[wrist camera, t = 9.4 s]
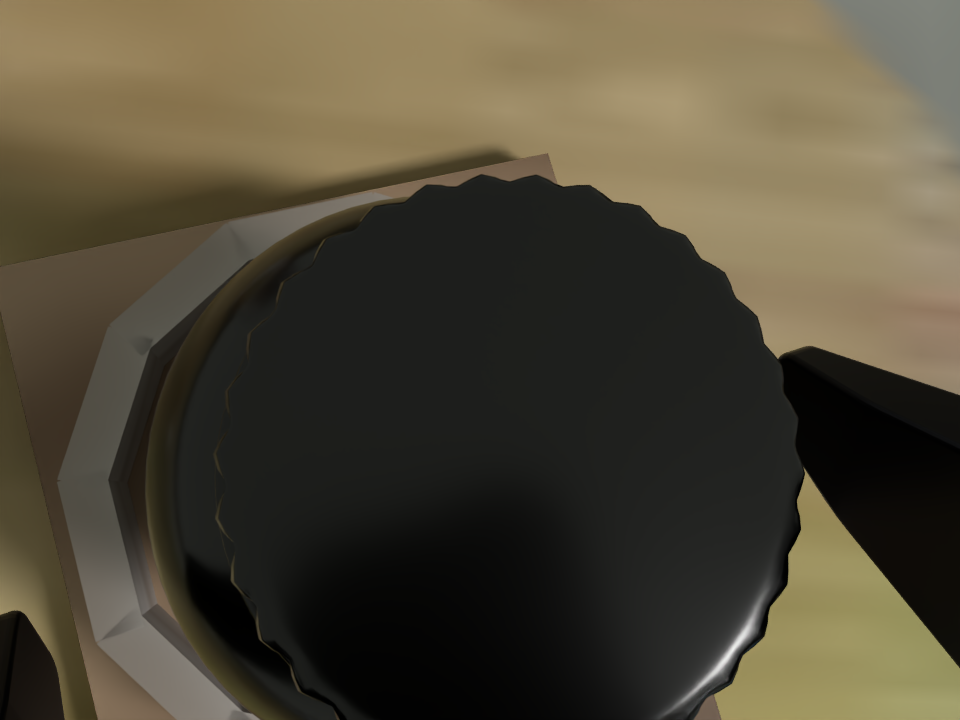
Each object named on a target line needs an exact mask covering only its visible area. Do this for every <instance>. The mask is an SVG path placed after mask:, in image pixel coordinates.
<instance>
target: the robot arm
mask: <svg viewBox="0 0 960 720" xmlns="http://www.w3.org/2000/svg"><path fill="white" fill-rule="evenodd" d="M778 360H779V362H780V363H781V364H782V368H783V376H784V383H783V386H784V393H785V395H786V397H787V398H788V400H789V401H790V403H791V405H792V406H793V408H794V410H795V412H796V414H797V416H798V418H799V420H798V433H797V437H796V449H797V452H798V455H799V457H800V459H801V461H802V465H803V467H804V468H805V470H806V472H807V473H808V475H809V476H810V478H811V479H812V481H813V482H814V484H815V485H816V487H817V488H818V490H819V491H820V493H821V494H822V496H823V497H824V499H825V501H826V502H827V503H828V505H829V506H830V508H831V509H832V510H833V512H834V513H835V515H836V516H837V517H838V519H839V520H840V521H841V523H842V524H843V525H844V526H845V528H846V529H847V530H848V532H849V533H850V534H851V535H852V537H853V538H854V539H855V540H856V541H857V543H858V544H859V545H860V546H861V548H862V549H863V550H864V551H865V552H866V554H867V555H868V556H869V557H870V559H871V560H872V561H873V562H874V563H875V565H876V566H877V567H878V568H879V570H880V571H881V572H882V573H883V575H884V576H885V577H886V578H887V579H888V581H889V582H890V583H891V584H892V586H893V587H894V588H895V589H896V590H897V592H898V593H899V594H900V595H901V597H902V598H903V599H904V600H905V602H906V603H907V604H908V605H909V606H910V608H911V609H912V610H913V611H914V613H915V614H916V615H917V616H918V617H919V619H920V620H921V621H922V622H923V624H924V625H925V626H926V627H927V628H928V630H929V631H930V632H931V633H932V635H933V636H934V637H935V638H936V640H937V641H938V642H939V643H940V644H941V646H942V647H943V648H944V649H945V651H946V652H947V653H948V654H949V655H950V657H951V658H952V659H953V660H954V662H955V663H956V664H957V665H958V666H959V668H960V395H958V394H955V393H952V392H949V391H946V390H943V389H940V388H937V387H934V386H931V385H928V384H925V383H922V382H919V381H916V380H913V379H910V378H907V377H904V376H901V375H898V374H895V373H892V372H889V371H886V370H883V369H880V368H877V367H874V366H871V365H868V364H865V363H862V362H859V361H856V360H853V359H850V358H847V357H844V356H841V355H838V354H835V353H832V352H829V351H826V350H823V349H820V348H816V347H813V346H806V347H802V348H799V349H796V350H793V351H790V352H787V353H784V354H782V355H781V356H780V357H779V359H778ZM0 720H65V719H64V712H63V705H62V698H61V691H60V684H59V677H58V672H57V668H56V665H55V662H54V660H53V657H52V655H51V654H50V652H49V650H48V649H47V647H46V646H45V644H44V643H43V641H42V639H41V638H40V636H39V635H38V633H37V632H36V630H35V628H34V627H33V625H32V624H31V622H30V621H29V619H28V618H27V616H26V615H25V614H24V613H22V612H21V611H11V612H8V613H5V614H2V615H0Z"/></svg>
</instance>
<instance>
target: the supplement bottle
mask: <svg viewBox="0 0 960 720" xmlns="http://www.w3.org/2000/svg"><path fill="white" fill-rule="evenodd" d="M783 383H784V376H783V368H782V364H781V363H780V362H779V360H778V359H777V358H776V356H775V355H774V354H773V353H772V352H771V351H770V349H769V348H768V347H767V346H766V345H765V344H764V340H763V335H762V330H761V327H760V323H759V320H758V317H757V316H756V315H755V314H754V313H753V312H752V311H751V310H750V309H749V308H748V307H747V306H746V305H744V304H743V303H742V302H740V301H739V300H738V299H737V298H736V297H735V295H734V292H733V290H732V286H731V284H730V282H729V280H728V278H727V276H726V274H725V272H723V271H722V270H720V269H719V268H717V267H716V266H714V265H712V264H710V263H708V262H706V261H705V260H703V259H701V258H700V256H699V255H698V254H697V252H696V250H695V248H694V246H693V245H692V243H691V242H690V241H689V239H688V238H687V236H686V235H684V234H681V233H679V232H676V231H674V230H671V229H667V228H664V227H661V226H659V225H658V224H657V223H656V222H655V221H654V220H653V219H652V217H651V216H650V215H649V214H648V213H647V212H646V211H645V210H644V209H643V208H642V207H641V206H639V205H634V204H629V203H619V202H613V201H612V200H610V199H609V198H608V197H607V196H605V195H604V194H603V193H601V192H600V191H598V190H597V189H595V188H594V187H592V186H591V185H574V186H565V187H562V186H560V185H558V184H555V183H553V182H552V181H551V180H549V179H547V178H544V177H542V176H539V175H537V174H535V175H531V176H526V177H522V178H519V179H516V180H513V181H506V180H501V179H499V178H497V177H494V176H489V175H484V174H480V175H478V176H475V177H473V178H471V179H469V180H467V181H465V182H463V183H462V184H460V185H458V186H444V185H433V184H426V185H425V186H423V187H422V188H421V189H419V190H418V191H416V192H415V193H414V194H413V195H412V196H410V197H400V198H393V199H386V200H379V201H375V202H371V203H367V204H363V205H359V206H354V207H351V208H348V209H345V210H342V211H339V212H337V213H334V214H331V215H328V216H325V217H323V218H321V219H319V220H317V221H315V222H313V223H310V224H308V225H306V226H304V227H302V228H300V229H298V230H297V231H295V232H293V233H291V234H290V235H288V236H286V237H285V238H283V239H281V240H280V241H278V242H276V243H275V244H273V245H272V246H271V247H269V248H268V249H267V250H265V251H264V252H263V253H261V254H260V255H258V256H257V257H256V258H254V259H253V260H252V261H251V262H250V263H248V264H247V265H246V266H245V267H244V268H243V269H242V270H241V271H240V272H238V273H237V274H236V275H235V276H234V277H233V278H232V279H231V280H230V281H229V282H228V283H227V284H226V285H225V286H224V288H223V289H222V290H221V291H220V292H219V293H218V294H217V295H216V296H215V297H214V299H213V300H212V301H211V302H210V304H209V305H208V306H207V308H206V309H205V310H204V312H203V313H202V314H201V316H200V317H199V318H198V320H197V321H196V322H195V324H194V326H193V327H192V329H191V331H190V332H189V334H188V336H187V337H186V339H185V341H184V342H183V344H182V346H181V347H180V349H179V351H178V353H177V355H176V357H175V360H174V362H173V364H172V366H171V368H170V370H169V372H168V375H167V377H166V380H165V383H164V386H163V388H162V391H161V394H160V397H159V400H158V403H157V406H156V411H155V415H154V419H153V423H152V427H151V431H150V438H149V445H148V452H147V460H146V481H145V499H146V513H147V525H148V531H149V537H150V542H151V548H152V553H153V557H154V561H155V564H156V568H157V571H158V575H159V578H160V582H161V585H162V587H163V590H164V592H165V595H166V597H167V600H168V602H169V605H170V607H171V609H172V612H173V614H174V616H175V618H176V620H177V621H178V623H179V625H180V627H181V629H182V631H183V633H184V634H185V636H186V638H187V640H188V641H189V643H190V644H191V646H192V647H193V649H194V650H195V652H196V653H197V655H198V656H199V658H200V659H201V661H202V662H203V664H204V665H205V666H206V667H207V668H208V670H209V671H210V672H211V673H212V674H213V676H214V677H215V678H216V679H217V680H218V681H219V683H220V684H221V685H222V686H223V687H224V688H225V689H226V690H227V691H228V692H229V693H230V694H231V695H232V696H233V697H234V698H235V699H236V700H237V701H238V702H239V703H240V704H241V705H242V706H243V707H244V708H246V709H247V710H248V711H249V712H251V713H252V714H253V715H255V716H256V717H257V718H258V719H260V720H693V719H694V718H695V717H696V715H697V714H698V712H699V710H700V707H701V705H702V704H703V702H704V701H705V700H706V698H707V697H709V696H711V695H713V694H715V693H717V692H719V691H721V690H723V689H724V688H726V687H727V686H729V685H731V684H732V682H733V680H734V678H735V675H736V673H737V671H738V667H739V663H740V661H741V658H742V656H743V655H744V654H745V653H746V652H747V651H749V650H750V649H751V648H753V647H754V646H755V645H756V644H757V643H758V642H759V641H760V640H761V639H762V638H763V637H764V636H765V632H766V628H767V624H768V614H769V609H770V606H771V605H772V604H773V603H774V602H775V601H776V599H777V598H778V597H779V596H780V594H781V593H782V592H783V590H784V589H785V587H786V586H787V584H788V554H789V552H790V550H791V549H792V547H793V545H794V544H795V542H796V540H797V537H798V535H799V533H800V531H801V524H800V515H799V512H798V508H797V498H798V496H799V493H800V490H801V487H802V484H803V480H804V476H805V472H804V468H803V465H802V461H801V459H800V457H799V455H798V452H797V449H796V437H797V433H798V420H799V418H798V416H797V414H796V412H795V410H794V408H793V406H792V405H791V403H790V401H789V400H788V398H787V397H786V395H785V393H784V386H783Z"/></svg>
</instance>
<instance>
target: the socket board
mask: <svg viewBox="0 0 960 720" xmlns="http://www.w3.org/2000/svg"><path fill="white" fill-rule="evenodd" d="M480 174H484V175H489V176H494V177H497V178H499V179H501V180H506V181H513V180H516V179H519V178H522V177H526V176H531V175H535V174H537V175H539V176H542V177H544V178H547V179H549V180H551V181H552V182H553V183H555V184H557V181H556V178H555V175H554V172H553V168H552V165H551V162H550V159H549V155H548V153H547V154H542V155H537V156H532V157H527V158H522V159H518V160H513V161H508V162H503V163H498V164H493V165H489V166H484V167H479V168H474V169H469V170H464V171H460V172H455V173H450V174H445V175H440V176H435V177H431V178H426V179H421V180H416V181H411V182H406V183H401V184H397V185H392V186H387V187H382V188H377V189H372V190H368V191H363V192H358V193H353V194H348V195H343V196H339V197H334V198H329V199H324V200H319V201H314V202H310V203H305V204H300V205H295V206H290V207H285V208H281V209H276V210H271V211H266V212H261V213H256V214H252V215H247V216H242V217H237V218H232V219H227V220H223V221H218V222H213V223H208V224H203V225H198V226H193V227H189V228H184V229H179V230H174V231H169V232H164V233H160V234H155V235H150V236H145V237H140V238H135V239H131V240H126V241H121V242H116V243H111V244H106V245H102V246H97V247H92V248H87V249H82V250H77V251H73V252H68V253H63V254H58V255H53V256H48V257H44V258H39V259H34V260H29V261H24V262H19V263H14V264H10V265H5V266H0V312H1V316H2V321H3V325H4V329H5V333H6V337H7V341H8V346H9V350H10V354H11V358H12V362H13V367H14V371H15V375H16V379H17V383H18V387H19V392H20V396H21V400H22V404H23V408H24V413H25V417H26V421H27V425H28V429H29V433H30V438H31V442H32V446H33V450H34V454H35V459H36V463H37V467H38V471H39V475H40V479H41V484H42V488H43V492H44V496H45V500H46V505H47V509H48V513H49V517H50V521H51V526H52V530H53V534H54V538H55V542H56V546H57V551H58V555H59V559H60V563H61V567H62V572H63V576H64V580H65V584H66V588H67V592H68V597H69V601H70V605H71V609H72V613H73V618H74V622H75V626H76V630H77V634H78V638H79V643H80V647H81V651H82V655H83V659H84V664H85V668H86V672H87V676H88V680H89V684H90V689H91V693H92V697H93V701H94V705H95V710H96V714H97V718H98V720H260V719H258V718H257V717H256V716H255V715H253V714H252V713H251V712H249V711H248V710H247V709H246V708H244V707H243V706H242V705H241V704H240V703H239V702H238V701H237V700H236V699H235V698H234V697H233V696H232V695H231V694H230V693H229V692H228V691H227V690H226V689H225V688H224V687H223V686H222V685H221V684H220V683H219V681H218V680H217V679H216V678H215V677H214V676H213V674H212V673H211V672H210V671H209V670H208V668H207V667H206V666H205V665H204V664H203V662H202V661H201V659H200V658H199V656H198V655H197V653H196V652H195V650H194V649H193V647H192V646H191V644H190V643H189V641H188V640H187V638H186V636H185V634H184V633H183V631H182V629H181V627H180V625H179V623H178V621H177V620H176V618H175V616H174V614H173V612H172V609H171V607H170V605H169V602H168V600H167V597H166V595H165V592H164V590H163V587H162V585H161V582H160V578H159V575H158V571H157V568H156V564H155V561H154V557H153V553H152V548H151V542H150V537H149V531H148V525H147V513H146V499H145V481H146V460H147V452H148V445H149V438H150V431H151V427H152V423H153V419H154V415H155V411H156V406H157V403H158V400H159V397H160V394H161V391H162V388H163V386H164V383H165V380H166V377H167V375H168V372H169V370H170V368H171V366H172V364H173V362H174V360H175V357H176V355H177V353H178V351H179V349H180V347H181V346H182V344H183V342H184V341H185V339H186V337H187V336H188V334H189V332H190V331H191V329H192V327H193V326H194V324H195V322H196V321H197V320H198V318H199V317H200V316H201V314H202V313H203V312H204V310H205V309H206V308H207V306H208V305H209V304H210V302H211V301H212V300H213V299H214V297H215V296H216V295H217V294H218V293H219V292H220V291H221V290H222V289H223V288H224V286H225V285H226V284H227V283H228V282H229V281H230V280H231V279H232V278H233V277H234V276H235V275H236V274H237V273H238V272H240V271H241V270H242V269H243V268H244V267H245V266H246V265H247V264H248V263H250V262H251V261H252V260H253V259H254V258H256V257H257V256H258V255H260V254H261V253H263V252H264V251H265V250H267V249H268V248H269V247H271V246H272V245H273V244H275V243H276V242H278V241H280V240H281V239H283V238H285V237H286V236H288V235H290V234H291V233H293V232H295V231H297V230H298V229H300V228H302V227H304V226H306V225H308V224H310V223H313V222H315V221H317V220H319V219H321V218H323V217H325V216H328V215H331V214H334V213H337V212H339V211H342V210H345V209H348V208H351V207H354V206H359V205H363V204H367V203H371V202H375V201H379V200H386V199H393V198H400V197H410V196H412V195H413V194H414V193H415V192H416V191H418V190H419V189H421V188H422V187H423V186H425V185H426V184H433V185H444V186H458V185H460V184H462V183H463V182H465V181H467V180H469V179H471V178H473V177H475V176H478V175H480ZM693 720H721V717H720V713H719V710H718V707H717V704H716V700H715V697H714V694H713V695H711V696H709V697H707V698H706V700H705V701H704V702H703V704H702V705H701V707H700V710H699V712H698V714H697V715H696V717H695V718H694V719H693Z"/></svg>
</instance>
